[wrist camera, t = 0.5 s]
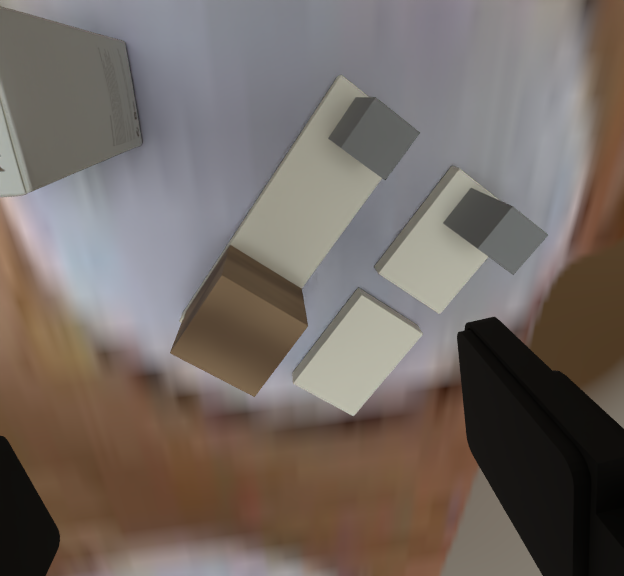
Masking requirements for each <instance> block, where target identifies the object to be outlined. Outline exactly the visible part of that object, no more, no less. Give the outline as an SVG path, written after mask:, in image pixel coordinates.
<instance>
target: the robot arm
mask: <svg viewBox="0 0 624 576" xmlns="http://www.w3.org/2000/svg"><path fill="white" fill-rule="evenodd" d="M457 342H458V352H459V362H460V373H461V383H462V393H463V404H464V414H465V424H466V435H467V440H468V444H469V447H470V450H471V452H472V454H473V456H474V458H475V460H476V461H477V463H478V465H479V467H480V468H481V470H482V472H483V473H484V475H485V477H486V479H487V480H488V482H489V484H490V486H491V487H492V489H493V491H494V492H495V494H496V496H497V498H498V499H499V501H500V503H501V504H502V506H503V508H504V510H505V511H506V513H507V515H508V516H509V518H510V520H511V522H512V523H513V525H514V527H515V528H516V530H517V532H518V534H519V535H520V537H521V539H522V541H523V542H524V544H525V546H526V547H527V549H528V551H529V553H530V554H531V556H532V558H533V560H534V561H535V563H536V565H537V567H538V568H539V570H540V571H541V573H542V575H543V576H624V429H623V428H622V427H621V426H620V425H619V424H618V423H617V422H616V421H615V420H614V419H612V418H611V417H610V416H609V415H608V414H607V413H606V412H605V411H604V410H602V408H600V407H599V406H598V405H597V404H596V403H595V402H594V401H593V400H592V399H591V398H589V396H587V395H586V394H585V393H584V392H583V391H582V390H581V389H580V388H579V387H578V386H577V385H576V384H574V383H573V382H572V381H571V380H570V379H569V378H568V377H567V376H566V375H564V374H563V373H561V372H560V371H552V370H551V369H550V368H549V367H548V366H547V365H546V364H545V363H544V362H543V361H542V360H541V359H539V357H537V356H536V355H535V354H534V353H533V352H532V351H531V350H530V349H529V348H528V347H527V346H526V345H525V344H524V343H523V342H522V341H521V340H520V339H518V338H517V337H516V336H515V335H514V334H513V333H512V332H511V331H510V330H509V329H508V328H507V327H506V326H505V325H504V324H503V323H502V322H501V321H499V320H498V319H497V318H496V317H491V318H486V319H482V320H477V321H473V322H468V323H466V325H465V331H461V332H458V335H457ZM59 542H60V535H59V530H58V528H57V526H56V524H55V523H54V521H53V519H52V517H51V516H50V514H49V512H48V510H47V509H46V507H45V505H44V503H43V502H42V500H41V498H40V496H39V495H38V493H37V491H36V489H35V488H34V486H33V484H32V482H31V481H30V479H29V477H28V475H27V474H26V472H25V470H24V468H23V467H22V465H21V463H20V461H19V459H18V458H17V456H16V454H15V452H14V451H13V449H12V447H11V445H10V444H9V442H8V440H7V439H6V438H5V437H3V436H0V576H46V574H47V571H48V569H49V567H50V565H51V563H52V561H53V559H54V556H55V554H56V552H57V550H58V547H59Z"/></svg>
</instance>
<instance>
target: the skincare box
mask: <svg viewBox="0 0 624 576" xmlns="http://www.w3.org/2000/svg"><path fill="white" fill-rule="evenodd" d="M141 144H142V139H141V133H140V127H139V120H138V114H137V108H136V102H135V97H134V91H133V85H132V79H131V73H130V68H129V62H128V57H127V51H126V46H125V42H124V41H122V40H118V39H114V38H111V37H107V36H104V35H100V34H96V33H93V32H89V31H86V30H82V29H79V28H76V27H71V26H68V25H65V24H61V23H58V22H54V21H51V20H47V19H44V18H40V17H37V16H33V15H30V14H26V13H22V12H19V11H16V10H12V9H8V8H4V7H0V197H12V196H21V195H25V194H27V193H29V192H32V191H34V190H36V189H39V188H41V187H43V186H46V185H48V184H50V183H53V182H55V181H57V180H60V179H62V178H64V177H67V176H69V175H71V174H74V173H76V172H78V171H81V170H83V169H85V168H88V167H90V166H92V165H95V164H97V163H99V162H102V161H104V160H107V159H109V158H111V157H114V156H116V155H118V154H121V153H123V152H125V151H128V150H130V149H133V148H135V147H139V146H141Z"/></svg>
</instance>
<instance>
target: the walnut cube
mask: <svg viewBox="0 0 624 576" xmlns="http://www.w3.org/2000/svg"><path fill="white" fill-rule="evenodd" d="M307 327H308V323H307V317H306V311H305V305H304V299H303V293H302V288H300V287H298V286H297V285H295V284H293V283H292V282H290V281H289V280H287V279H285V278H284V277H282V276H280V275H279V274H277V273H275V272H274V271H272V270H271V269H269V268H267V267H266V266H264V265H262V264H261V263H259V262H258V261H256V260H254V259H253V258H251V257H249V256H248V255H246V254H245V253H243V252H241V251H240V250H238V249H236V248H235V247H233V246H232V245H229V247H228V248H227V250H226V251H225V253H224V254H223V256H222V257H221V259H220V260H219V262H218V263H217V265H216V266H215V268H214V269H213V271H212V272H211V274H210V276H209V277H208V279H207V280H206V282H205V283H204V285H203V286H202V288H201V289H200V291H199V292H198V294H197V295H196V297H195V298H194V300H193V301H192V303H191V304H190V306H189V307H188V309H187V311H186V313H185V315H184V318H183V320H182V323H181V326H180V328H179V331H178V333H177V336H176V339H175V341H174V344H173V346H172V349H171V352H170V353H171V354H173V355H175V356H177V357H178V358H180V359H182V360H184V361H186V362H188V363H190V364H192V365H194V366H196V367H198V368H200V369H202V370H204V371H205V372H207V373H209V374H211V375H213V376H215V377H217V378H219V379H221V380H223V381H225V382H227V383H229V384H231V385H232V386H234V387H236V388H238V389H240V390H242V391H244V392H246V393H248V394H250V395H252V396H254V397H255V396H256V394H257V393H258V392H259V390H260V389H261V388H262V386H263V385H264V384H265V382H266V381H267V380H268V378H269V377H270V376H271V374H272V373H273V372H274V370H275V369H276V368H277V367H278V365H279V364H280V363H281V361H282V360H283V359H284V357H285V356H286V355H287V353H288V352H289V351H290V349H291V348H292V347H293V345H294V344H295V343H296V341H297V340H298V339H299V337H300V336H301V335H302V333H303V332H304V331H305V329H306V328H307Z"/></svg>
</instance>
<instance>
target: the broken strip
mask: <svg viewBox="0 0 624 576" xmlns="http://www.w3.org/2000/svg"><path fill="white" fill-rule="evenodd" d="M547 236H548V234H547V233H545V232H544V231H543V230H542V229H540V228H539V227H538V226H537V225H535V224H534V223H533V222H532V221H530V220H529V219H528V218H527V217H525V216H524V215H523V214H522V213H520V212H519V211H518V210H517V209H515V208H514V207H513V206H511V205H508V204H506V203H504V202H502V201H500V200H499V199H497V198H496V197H495V196H494V195H492V194H491V193H490V192H489V191H487V190H486V189H485V188H483V187H482V186H481V185H480V184H478V183H477V182H476V181H475V180H473V179H472V178H471V177H470V176H468V175H467V174H466V173H465V172H463V171H462V170H461V169H459V168H456V167H454V166H451V167H450V169H449V170H448V171H447V173H446V174H445V175H444V177H443V178H442V179H441V180H440V182H439V183H438V184H437V186H436V187H435V188H434V190H433V191H432V192H431V193H430V195H429V196H428V197H427V199H426V200H425V201H424V203H423V204H422V205H421V206H420V208H419V209H418V210H417V212H416V213H415V214H414V216H413V217H412V218H411V219H410V221H409V222H408V223H407V225H406V226H405V227H404V229H403V230H402V231H401V232H400V234H399V235H398V236H397V238H396V239H395V240H394V242H393V243H392V244H391V245H390V247H389V248H388V249H387V251H386V252H385V253H384V255H383V256H382V257H381V258H380V260H379V261H378V262H377V264H376V265H375V266H374V267H375V269H376V271H377V272H378V274H380V275H381V276H383V277H384V278H386V279H387V280H389V281H390V282H392V283H393V284H395V285H396V286H398V287H399V288H401V289H402V290H404V291H405V292H407V293H408V294H410V295H411V296H413V297H414V298H416V299H417V300H419V301H420V302H422V303H424V304H425V305H427V306H428V307H430V308H431V309H433V310H434V311H436V312H437V313H439V314H440V313H441V312H442V311H443V310H444V309H445V307H446V306H447V305H448V304H449V303H450V302H451V300H452V299H453V298H454V297H455V296H456V294H457V293H458V292H459V291H460V290H461V289H462V287H463V286H464V285H465V284H466V283H467V281H468V280H469V279H470V278H471V277H472V275H473V274H474V273H475V272H476V271H477V270H478V268H479V267H480V266H481V265H482V264H483V262H484V261H485V260H486V259H487V258H488V257H489V258H491V259H492V260H494V261H495V262H496V263H498V264H499V265H500V266H502V267H503V268H504V269H506V270H507V271H509V272H510V273H511V274H513V275H514V274H515V273H516V271H517V270H518V269H519V268H520V267H521V266H522V265H523V263H524V262H525V261H526V260H527V259H528V258H529V257H530V255H531V254H532V253H533V252H534V251H535V250H536V249H537V247H538V246H539V245H540V244H541V243H542V242H543V241H544V239H545V238H546V237H547ZM422 335H423V333H422V332H421V330H420V329H419V327H418V325H416V324H415V323H413V322H411V321H410V320H408V319H407V318H405V317H404V316H402V315H401V314H399V313H397V312H396V311H394V310H393V309H391V308H390V307H388V306H387V305H385V304H383V303H382V302H380V301H379V300H377V299H376V298H374V297H373V296H371V295H369V294H368V293H366V292H365V291H363V290H362V289H360V288H359V287H358V288H357V290H356V291H355V292H354V294H353V295H352V296H351V297H350V299H349V300H348V301H347V303H346V304H345V305H344V307H343V308H342V309H341V310H340V312H339V313H338V314H337V316H336V317H335V318H334V320H333V321H332V322H331V323H330V325H329V326H328V327H327V329H326V330H325V331H324V333H323V334H322V335H321V336H320V338H319V339H318V340H317V342H316V343H315V344H314V346H313V347H312V348H311V349H310V351H309V352H308V353H307V355H306V356H305V357H304V359H303V360H302V361H301V362H300V364H299V365H298V366H297V368H296V369H295V370H294V372H293V373H292V376H293V384H295V385H297V386H299V387H300V388H302V389H304V390H306V391H308V392H310V393H311V394H313V395H315V396H317V397H319V398H321V399H323V400H324V401H326V402H328V403H330V404H332V405H334V406H335V407H337V408H339V409H341V410H343V411H345V412H346V413H348V414H350V415H352V416H354V415H355V414H356V413H357V412H358V410H359V409H360V408H361V407H362V406H363V405H364V403H365V402H366V401H367V400H368V399H369V397H370V396H371V395H372V394H373V393H374V392H375V390H376V389H377V388H378V387H379V386H380V384H381V383H382V382H383V381H384V380H385V378H386V377H387V376H388V375H389V374H390V373H391V371H392V370H393V369H394V368H395V367H396V365H397V364H398V363H399V362H400V361H401V360H402V358H403V357H404V356H405V355H406V354H407V352H408V351H409V350H410V349H411V348H412V347H413V345H414V344H415V343H416V342H417V341H418V339H419V338H420V337H421V336H422Z"/></svg>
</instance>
